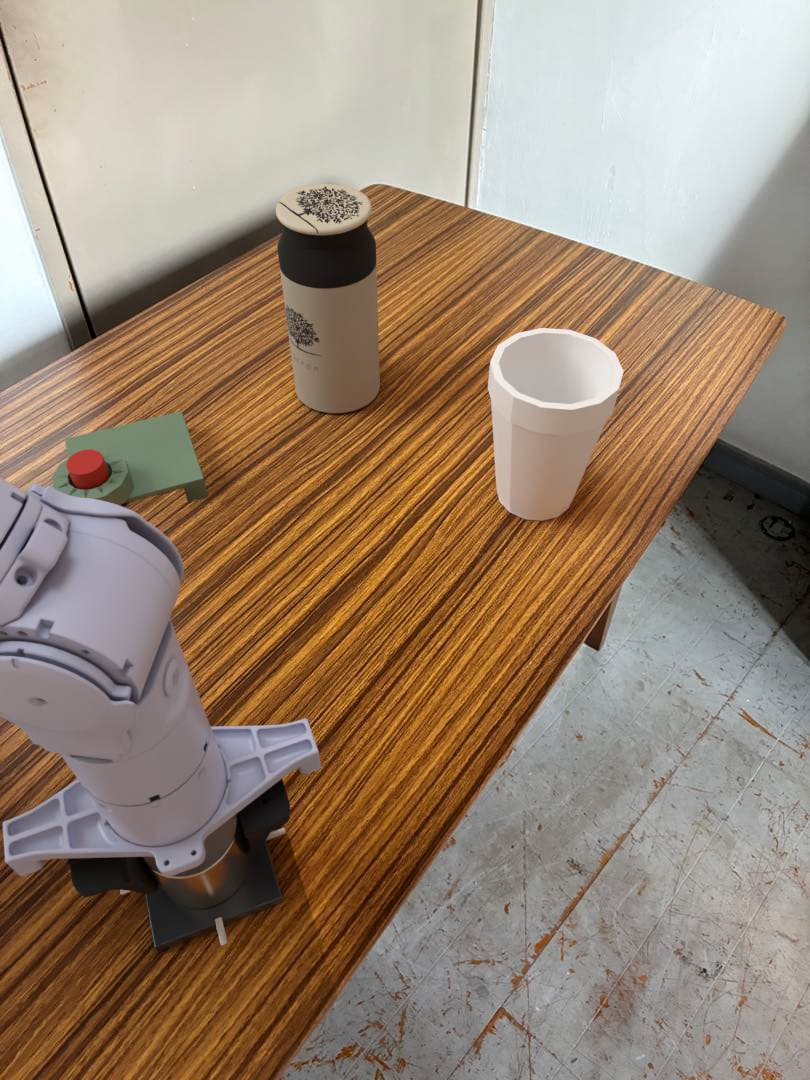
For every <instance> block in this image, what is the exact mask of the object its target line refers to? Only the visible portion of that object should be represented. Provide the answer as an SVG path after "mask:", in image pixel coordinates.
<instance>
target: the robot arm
mask: <svg viewBox="0 0 810 1080" xmlns="http://www.w3.org/2000/svg"><path fill="white" fill-rule="evenodd" d="M184 575H185V565H184V561H183V558H182V556H181V553H180V551H179V550H178V548H177V547H176V545H175V544H174V543H173V542H172V541H171V540H170V538H168V536H166V534H164V533H163V532H162V531H161V530H160V529H158V528H157V527H156V526H155V525H153V524H152V523H150V522H148V521H147V520H146V519H145V518H144V517H143V516H141V515H140V514H139V513H138V512H136V511H134V510H132V509H130V508H128V507H125V506H122V505H120V506H119V505H116V504H113V503H110V502H106V501H102V500H97V499H91V498H81V497H74V496H70V495H67V494H64V493H62V492H60V491H58V490H56V489H54V488H53V486H51V485H47V486H43V485H42V484H39V483H36V482H35V483H33V484H32V485H31V486H30V487H29V488H28V489H27V490H26V491H24V490H23V489H21V488H19V487H18V486H16V485H14V484H12V483H10V482H9V481H7V480H5V479H4V478H2V477H0V718H2V719H4V720H5V721H8V722H9V723H11V724H13V725H15V726H17V727H18V728H19V729H20V730H21V731H22V732H23V733H25V735H26V736H27V737H28V739H29V740H30V741H31V743H32V744H33V745H35V746H39V747H42V748H43V750H45V751H46V752H49V753H53V754H59V756H61V758H62V759H63V760H64V762H65V763H66V765H67V766H68V767H69V769H70V770H71V772H72V773H73V775H75V777H76V780H74V781H73V782H71V783H69V784H68V785H66V786H65V787H64V788H62V789H60V791H58V792H56V793H55V794H53V795H52V796H51V797H49V798H48V799H46V800H45V801H43V802H42V803H39V804H38V805H37V806H35V807H34V808H32V809H30V810H28V811H26V812H24V813H22V814H19V815H16V816H14V817H12V818H10V819H7V820H3V822H2V836H3V837H2V838H3V847H4V848H3V851H4V862H5V863H6V864H7V865H8V866H9V867H10V868H11V869H12V870H13V871H14V872H15V873H16V874H17V875H18V876H19V877H25V876H27V875H30V874H33V873H36V872H38V871H40V870H41V869H42V868H43V867H44V865H45V860H47V861H48V860H59V859H61V860H65V859H67V864H68V865H69V869H70V876H71V882H72V887H73V888H74V889H75V891H76V892H77V893H78V894H79V895H81V897H83V898H85V899H86V898H90V897H93V896H97V895H99V894H102V893H104V892H107V891H120V890H128V891H133V892H134V893H138V894H142V895H145V894H150V893H153V892H156V891H158V890H159V885H158V882H157V880H156V879H155V878H154V876H153V875H152V873H151V872H150V870H149V869H148V867H147V866H146V865H145V863H144V861H143V860H142V858H141V857H154V858H155V860H156V865H157V867H158V869H159V871H160V872H161V874H163V875H165V876H173V875H176V874H178V873H181V872H184V871H186V870H189V869H192V868H194V867H197V866H199V865H200V864H202V863H203V861H204V859H205V855H206V851H205V847H204V841H205V839H206V837H207V836H208V835H210V834H211V833H212V832H213V831H215V830H216V829H217V828H219V827H220V826H221V825H222V824H224V823H225V822H226V821H228V820H229V819H230V818H232V817H233V816H234V815H235V814H237V813H238V812H239V816H240V820H241V824H242V828H243V831H244V835H245V838H246V839H247V841H248V845H249V849H250V852H251V854H252V855H254V854H256V853H259V852H262V851H263V849H264V845H265V842H266V839H267V837H268V835H269V834H270V833H271V832H273V831H274V830H275V829H277V828H279V827H281V826H284V825H285V824H287V823H289V820H290V815H291V803H290V800H289V796H288V793H287V790H286V786H285V783H284V779H283V778H285V777H287V776H288V775H289V774H290V773H293V771H295V770H297V769H298V772H299V773H300V774H301V775H308V774H310V773H314V772H316V771H319V770H321V769H322V763H321V757H320V752H319V748H318V745H317V742H316V739H315V736H314V734H313V731H312V728H311V725H310V722H309V720H308V718H307V717H304V718H301V719H298V720H295V721H291V722H287V723H281V724H270V725H269V724H267V725H266V724H265V725H263V724H262V725H261V724H260V725H219V726H218V725H216V726H214V725H213V726H211V724H210V722H209V718H208V715H207V714H206V711H205V708H204V705H203V703H202V700H201V697H200V694H199V692H198V689H197V687H196V684H195V682H194V681H195V680H194V678H193V676H192V673H191V670H190V668H189V664H188V662H187V660H186V657H185V654H184V651H183V649H182V646H181V644H180V641H179V638H178V636H177V632H176V629H175V627H174V625H173V622H172V620H171V616H172V613H173V610H174V608H175V606H176V603H177V600H178V598H179V595H180V592H181V583H182V581H183V580H184V579H183V578H184Z"/></svg>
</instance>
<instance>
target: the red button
mask: <svg viewBox="0 0 810 1080" xmlns="http://www.w3.org/2000/svg"><path fill="white" fill-rule="evenodd" d="M67 459H68V458H67ZM66 467H67V470H68V472H69V474H70V477H71V479H72V481H73V483H74V485H75V486H76V487H77V488H79V489H83V490H89V489H93V488H97V487H99V486H101V485H102V484H104V483H105V482H106V481H107V480H108V478H109V470H108V468H107V465H106V462H105V460H104V457H103V455H102V454H101V453H100V452H99V451H96V450H92V449H87V450H82V451H79V452H76V453H75V454H73V455H72V456H71V457H70V458H69V459H68V461H67V464H66Z"/></svg>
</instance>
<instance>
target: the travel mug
mask: <svg viewBox="0 0 810 1080" xmlns="http://www.w3.org/2000/svg"><path fill="white" fill-rule="evenodd" d="M372 209H373V206H372V203H371V201H370V199H369V197H368V196H367V195H366V194H364V193H363V192H362V191H360V190H359V189H356V188H353V187H351V186H347V185H342V184H335V183H334V184H333V183H321V184H320V183H318V184H311V185H305V186H301V187H298V188H296V189H293V190H291V191H289V192H288V193H286V194H285V195H283V196H282V197H281V198H280V199H279V200H278V202H277V204H276V207H275V215H276V217H277V220H278V221H279V222H280V223H281V226H282V229H283V231H282V233H281V235H280V237H279V240H278V241H277V255H278V264H279V272H280V279H281V288H282V294H283V302H284V311H285V319H286V326H287V327H286V328H287V332H288V333H287V335H288V342H289V350H290V358H291V364H292V365H291V366H292V373H293V380H294V388H295V394H296V396H297V398H298V400H300V402H301V403H303V404H304V405H305V406H307V407H308V408H310V409H312V410H315V411H318V412H323V413H326V414H327V413H328V414H343V413H350V412H354V411H358V410H359V409H360V410H361V409H362V408H364V407H366V406H368V405H369V404H370V403H371V402H373V400H375V398H376V397H377V395H378V394H379V392H380V388H381V374H380V369H381V368H380V338H379V337H380V335H379V305H378V303H379V301H378V300H379V299H378V271H377V268H378V267H377V265H378V264H377V242H376V238H375V236H374V234H373V233H372V231H371V230H370V228H369V226H368V222H369V221H368V220H369V218H370V217H371V214H372Z"/></svg>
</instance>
